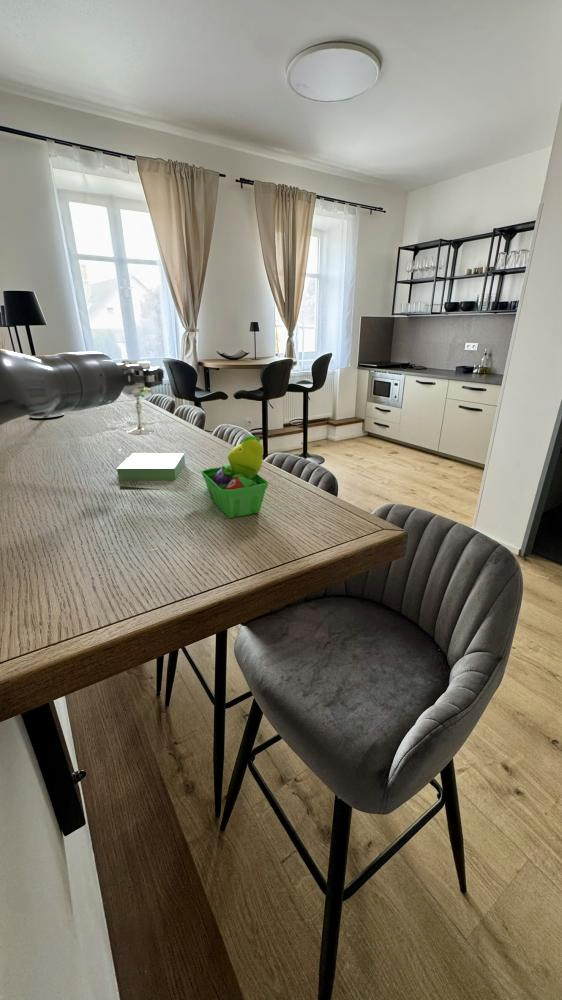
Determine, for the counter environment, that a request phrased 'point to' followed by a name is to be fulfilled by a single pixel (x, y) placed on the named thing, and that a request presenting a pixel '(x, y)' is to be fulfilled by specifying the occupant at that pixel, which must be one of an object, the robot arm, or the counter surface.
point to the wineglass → (138, 398)
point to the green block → (150, 467)
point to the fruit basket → (238, 480)
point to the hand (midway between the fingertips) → (143, 372)
